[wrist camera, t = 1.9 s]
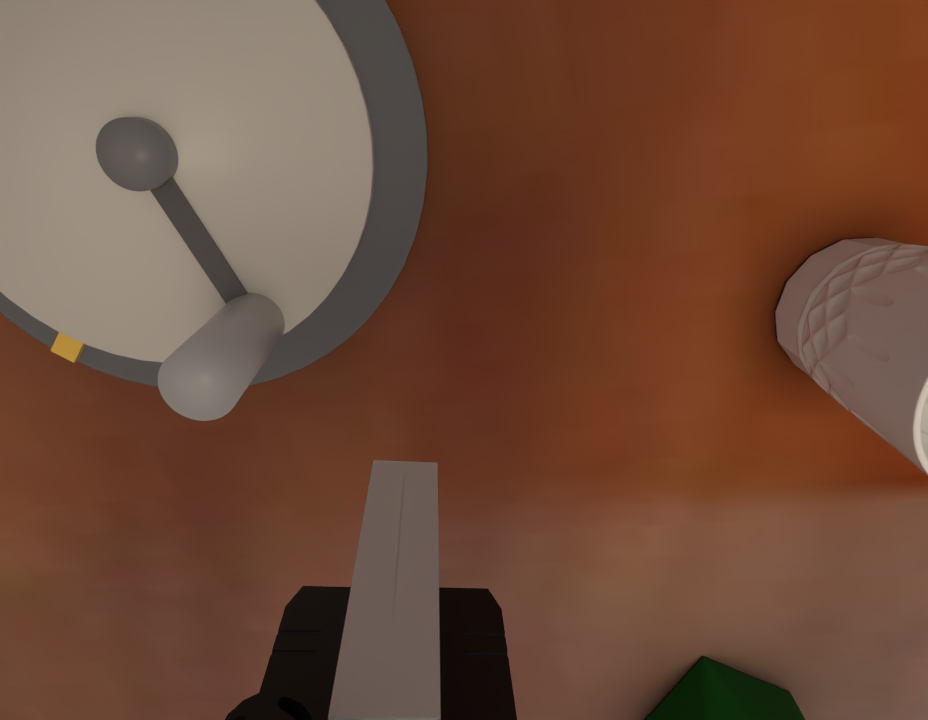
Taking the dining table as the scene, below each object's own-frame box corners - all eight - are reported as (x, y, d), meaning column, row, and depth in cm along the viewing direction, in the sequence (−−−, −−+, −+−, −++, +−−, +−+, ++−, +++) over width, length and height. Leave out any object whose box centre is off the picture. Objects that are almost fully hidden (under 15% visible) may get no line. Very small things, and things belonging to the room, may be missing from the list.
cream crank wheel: (-176, 38, 21) (-481, 0, 14) (217, -212, 19) (90, -402, 12) (123, 411, 27) (13, 516, 20) (448, 252, 25) (453, 306, 18)
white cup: (750, 387, 30) (890, 508, 21) (774, 228, 27) (950, 286, 18) (905, 377, 30) (1112, 493, 21) (945, 218, 27) (1208, 272, 18)
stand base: (-152, -188, 20) (-221, -223, 18) (442, -125, 22) (442, -151, 20) (-19, 361, 28) (-56, 381, 26) (417, 382, 29) (415, 403, 27)
